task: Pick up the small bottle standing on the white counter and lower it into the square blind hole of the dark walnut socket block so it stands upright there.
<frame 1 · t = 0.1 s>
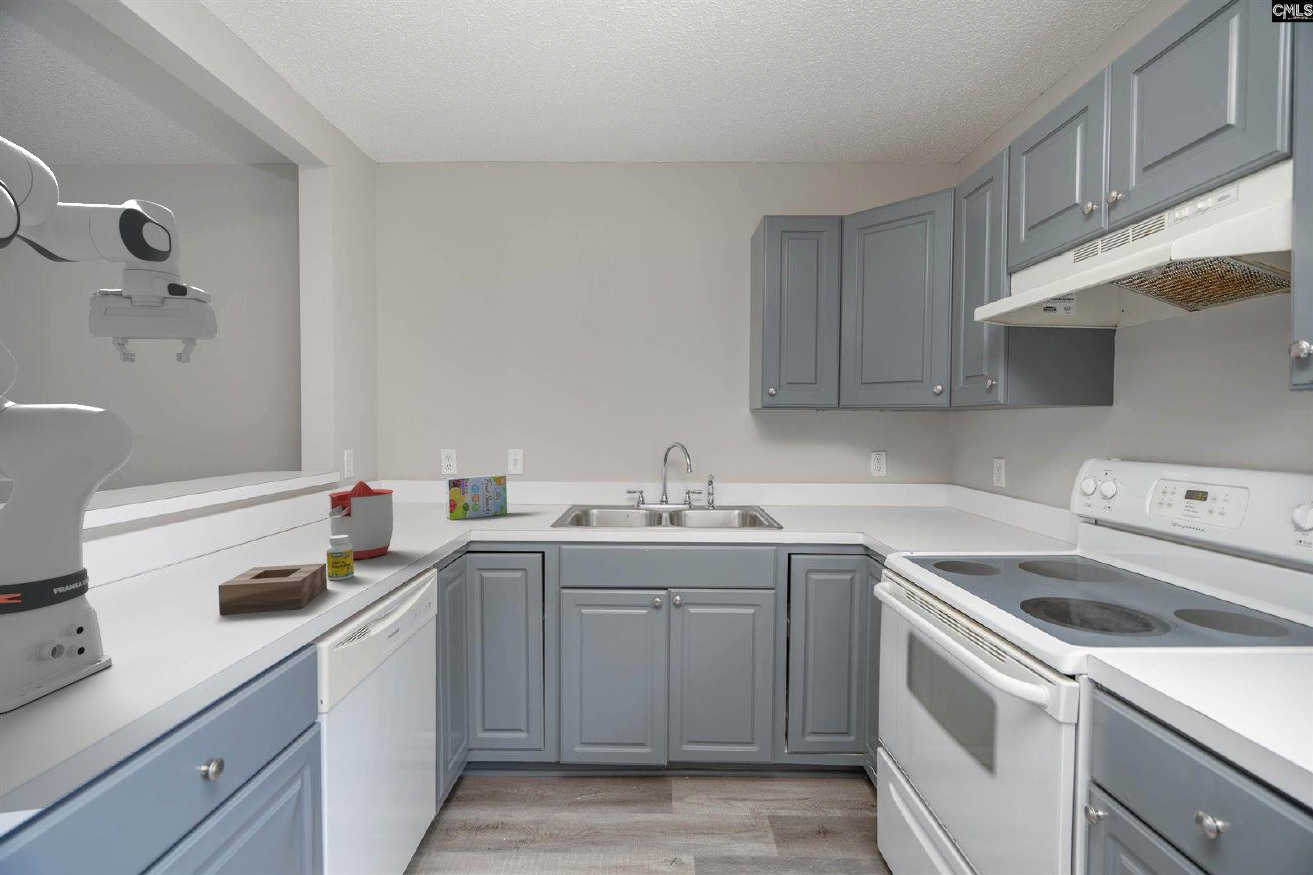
hand: (155, 362, 115), 48 cm above the counter, tool pointing down, fingers open, 8 cm apart
supplement bottle: (340, 578, 136), on the counter
socket block: (276, 600, 119), on the counter
snack box: (477, 517, 221), on the counter
citrus juicer: (361, 556, 159), on the counter
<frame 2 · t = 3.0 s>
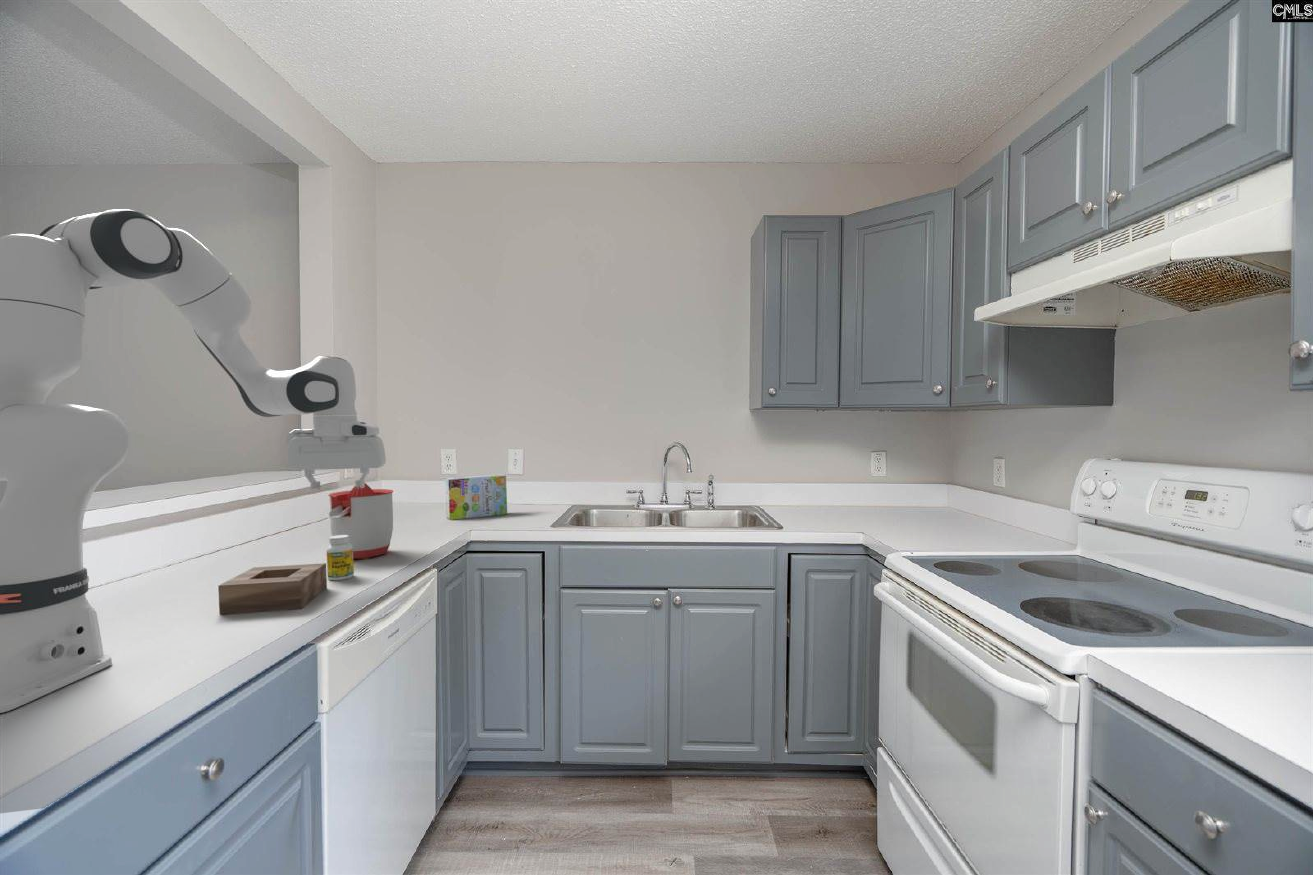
hand: (338, 488, 136), 21 cm above the counter, tool pointing down, fingers open, 8 cm apart
nothing on the counter moved.
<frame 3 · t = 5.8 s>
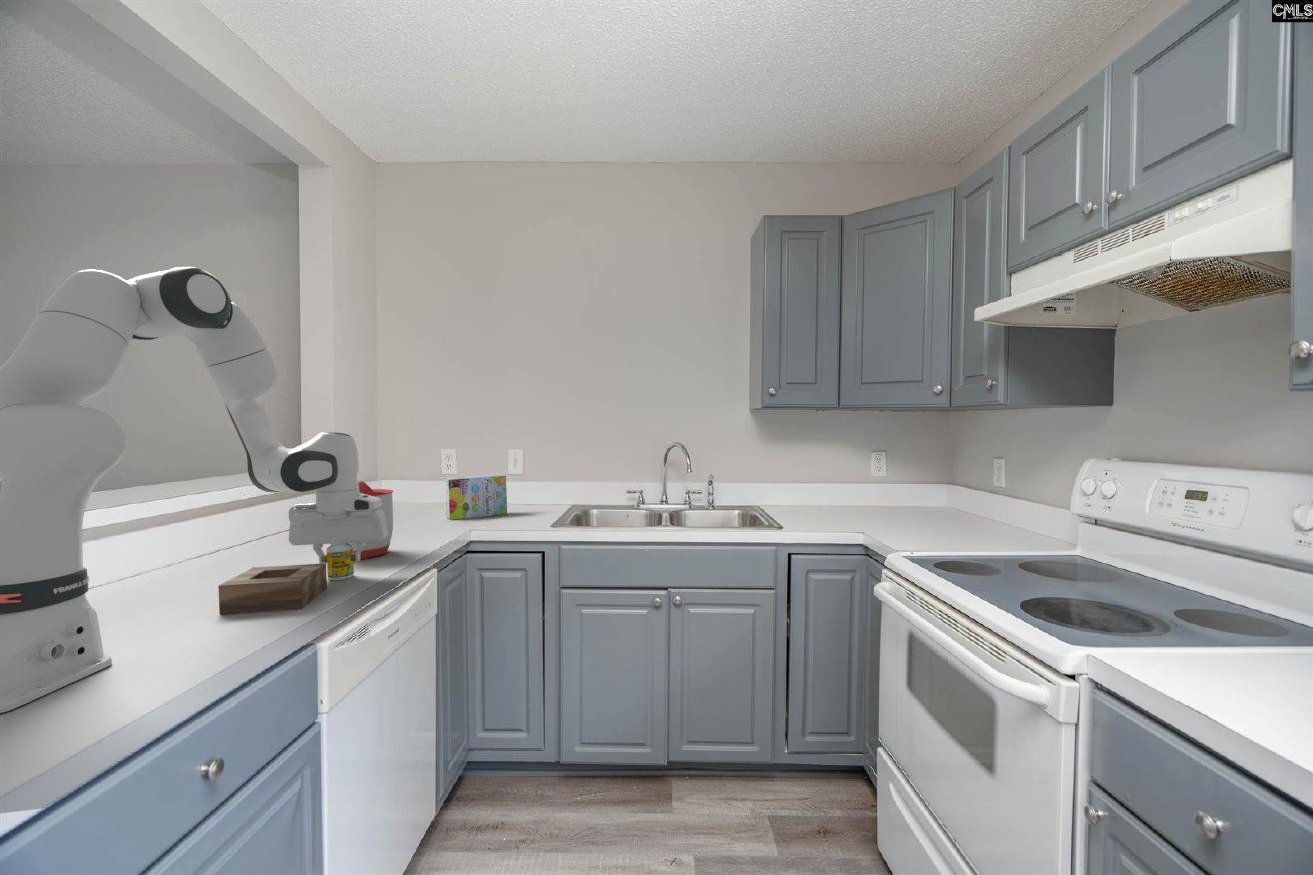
hand: (340, 562, 136), 4 cm above the counter, tool pointing down, fingers closed on supplement bottle, 5 cm apart
supplement bottle: (340, 578, 136), on the counter, touching gripper
everything else where it was.
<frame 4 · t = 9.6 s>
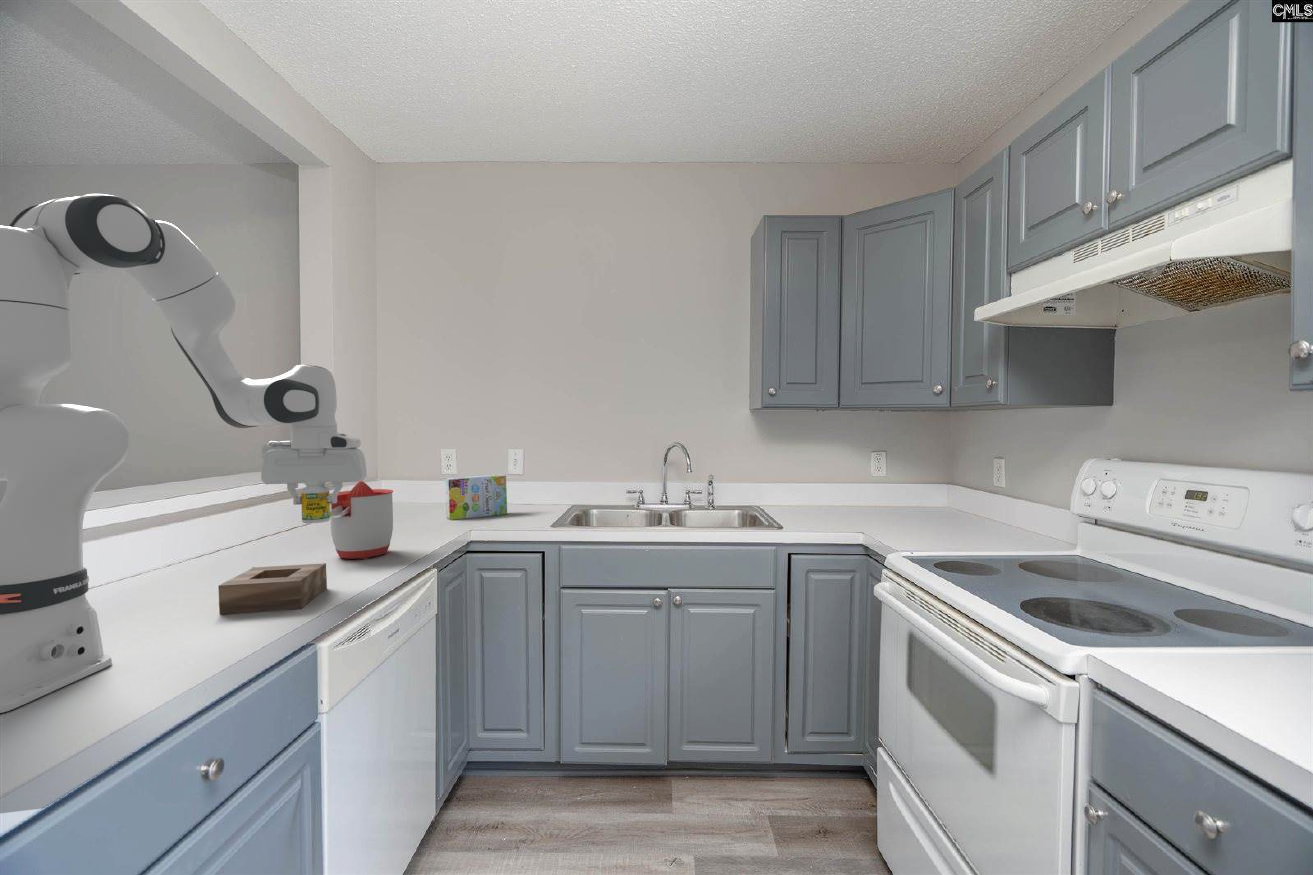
hand: (315, 503, 129), 18 cm above the counter, tool pointing down, fingers closed on supplement bottle, 5 cm apart
supplement bottle: (315, 522, 129), point 14 cm above the counter, touching gripper
everything else where it was.
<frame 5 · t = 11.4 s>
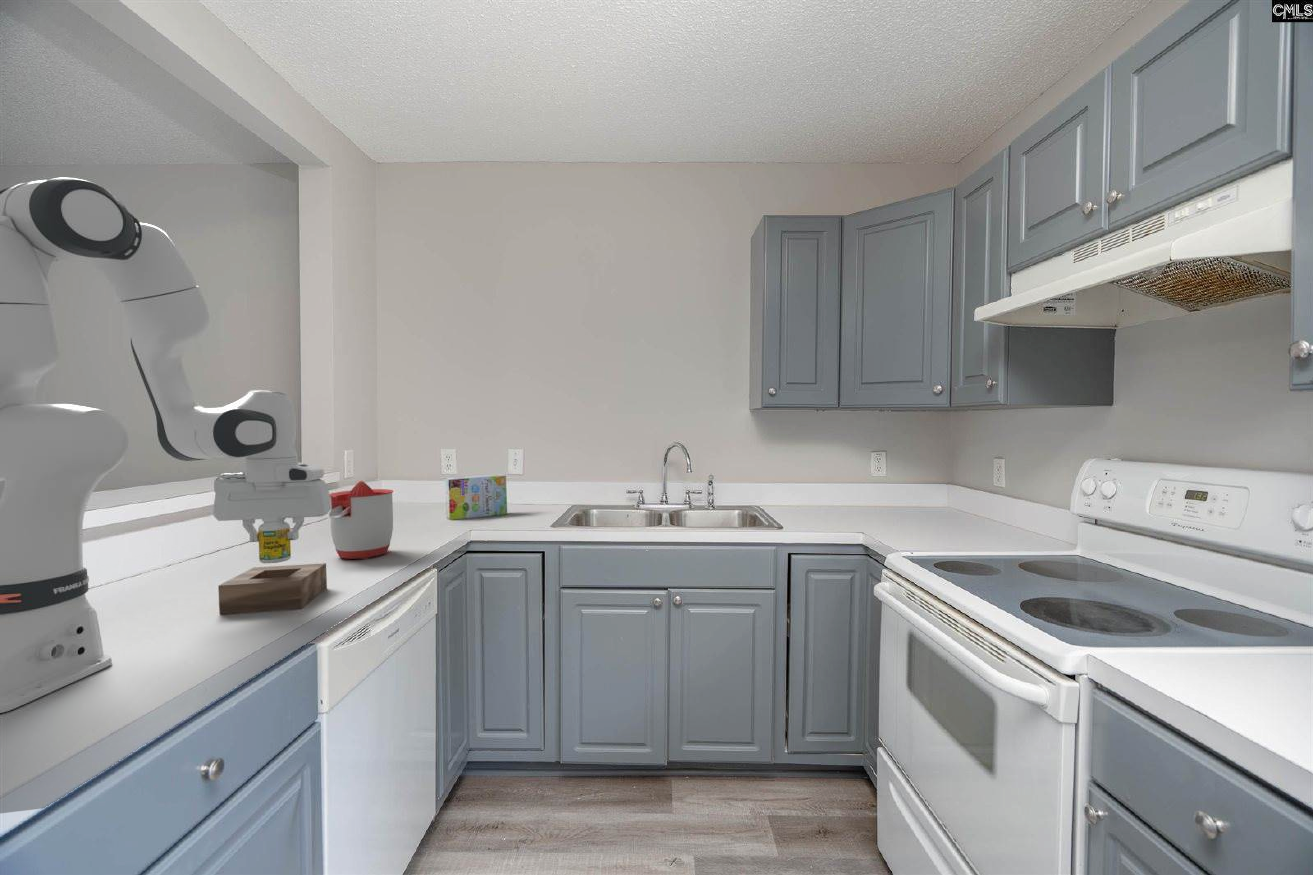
hand: (274, 540, 119), 12 cm above the counter, tool pointing down, fingers closed on supplement bottle, 5 cm apart
supplement bottle: (275, 561, 119), point 8 cm above the counter, touching gripper
everything else where it was.
when the fingers open (7 cm above the counter, at t = 13.1 s): supplement bottle stays where it is, resting on socket block.
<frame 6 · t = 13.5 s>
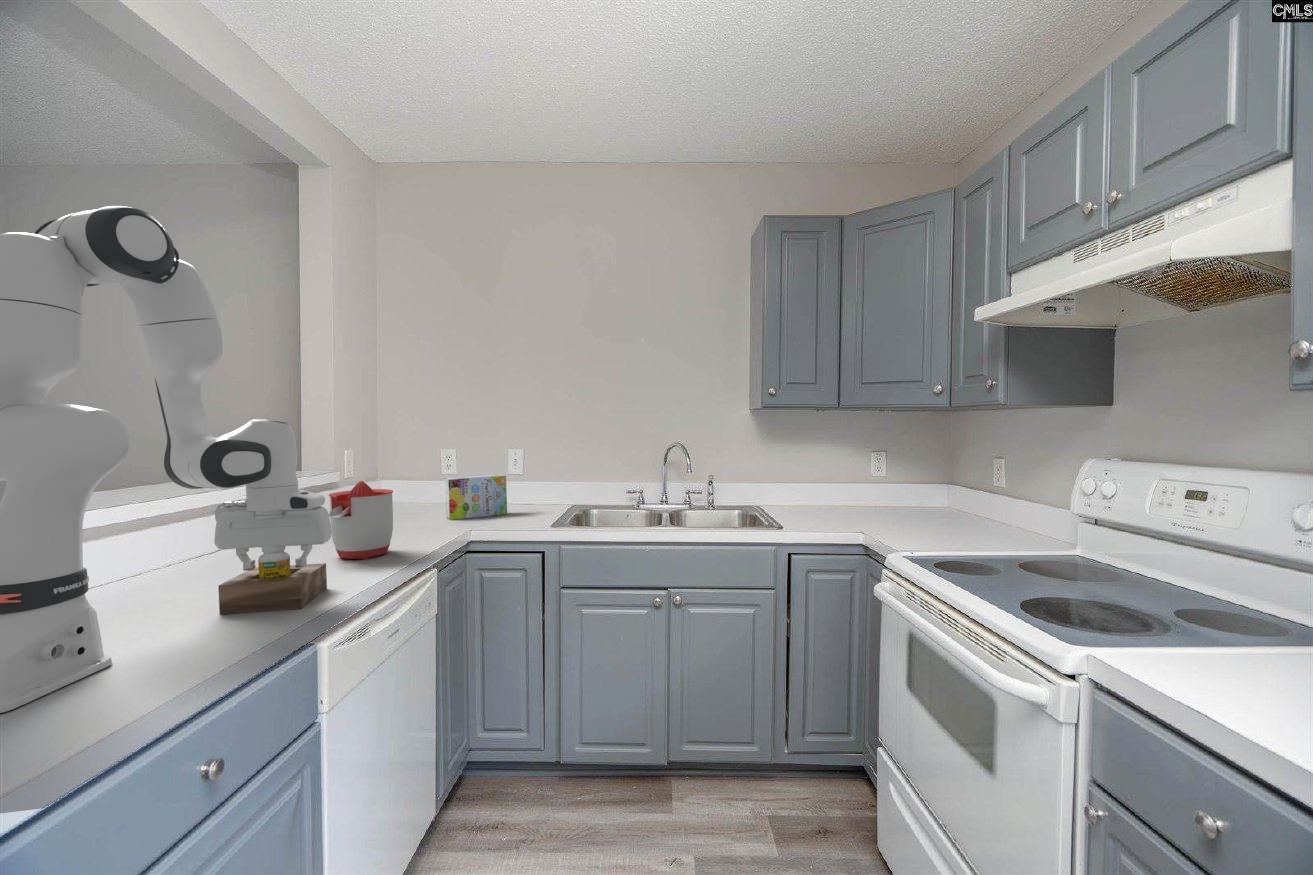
hand: (275, 568, 119), 7 cm above the counter, tool pointing down, fingers open, 8 cm apart
supplement bottle: (275, 592, 119), point 2 cm above the counter, touching socket block
everything else where it was.
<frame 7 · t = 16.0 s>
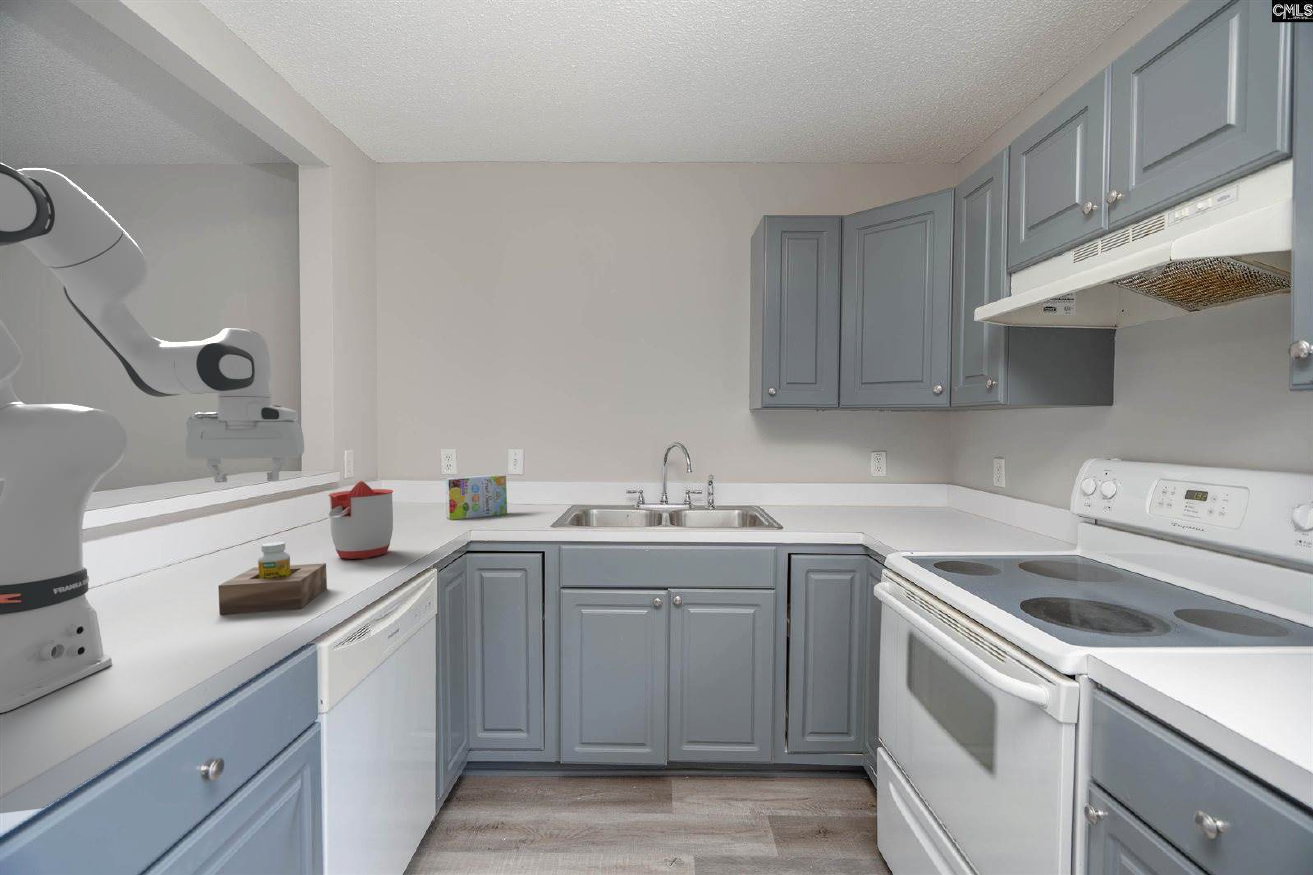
hand: (247, 481, 118), 24 cm above the counter, tool pointing down, fingers open, 8 cm apart
nothing on the counter moved.
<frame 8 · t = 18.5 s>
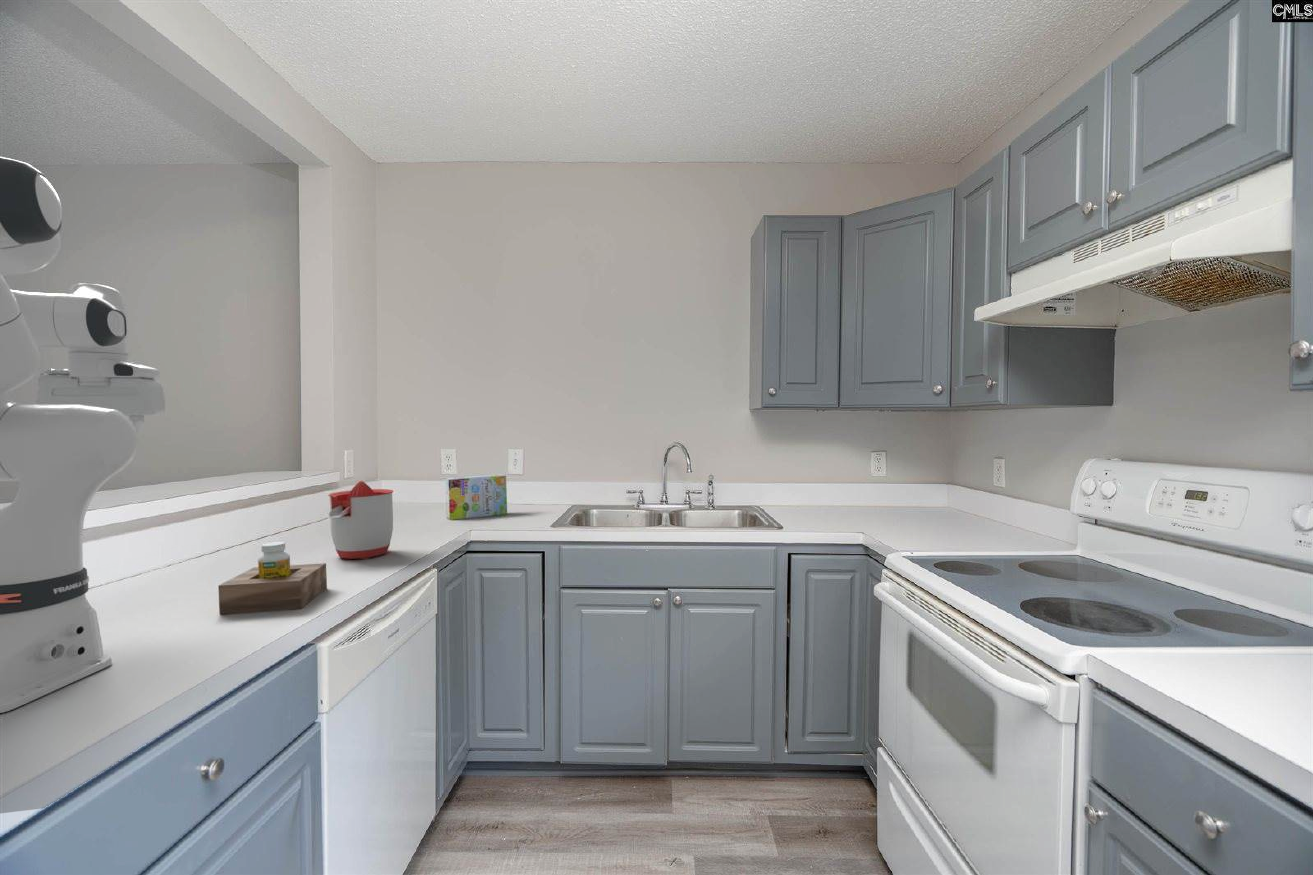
hand: (103, 439, 117), 33 cm above the counter, tool pointing down, fingers open, 8 cm apart
nothing on the counter moved.
at the end: supplement bottle 0.2 cm off-centre on the socket block, point 1.8 cm above the socket block's base; supplement bottle tilted 0°; the gripper is holding nothing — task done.
